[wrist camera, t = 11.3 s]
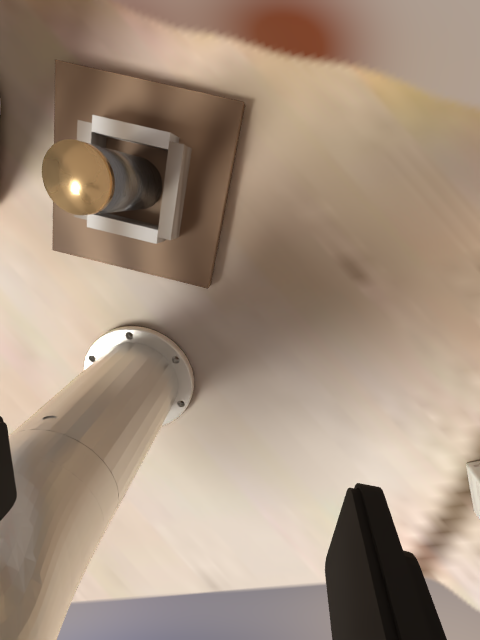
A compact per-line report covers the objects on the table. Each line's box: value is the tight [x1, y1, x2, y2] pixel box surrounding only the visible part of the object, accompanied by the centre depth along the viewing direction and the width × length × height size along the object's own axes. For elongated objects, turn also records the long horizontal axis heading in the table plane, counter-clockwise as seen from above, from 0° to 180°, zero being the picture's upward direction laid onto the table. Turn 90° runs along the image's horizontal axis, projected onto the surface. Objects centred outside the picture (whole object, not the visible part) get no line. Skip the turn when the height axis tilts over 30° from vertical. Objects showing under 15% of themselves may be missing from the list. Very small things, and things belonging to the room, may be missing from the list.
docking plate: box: [53, 60, 245, 288], centre depth 30 cm, size 16×16×4 cm
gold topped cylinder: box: [42, 139, 162, 215], centre depth 26 cm, size 4×4×10 cm
